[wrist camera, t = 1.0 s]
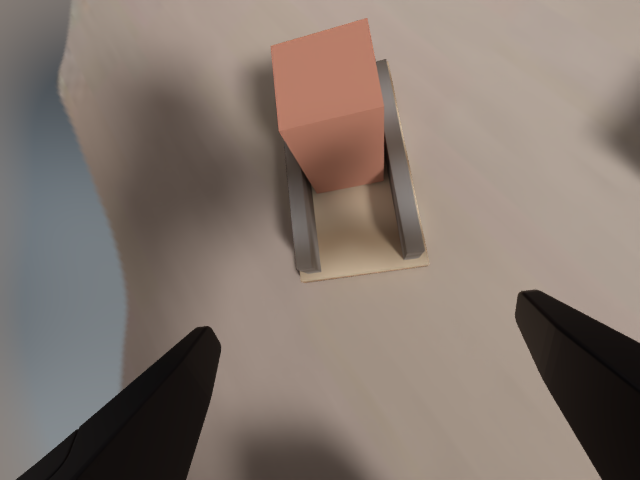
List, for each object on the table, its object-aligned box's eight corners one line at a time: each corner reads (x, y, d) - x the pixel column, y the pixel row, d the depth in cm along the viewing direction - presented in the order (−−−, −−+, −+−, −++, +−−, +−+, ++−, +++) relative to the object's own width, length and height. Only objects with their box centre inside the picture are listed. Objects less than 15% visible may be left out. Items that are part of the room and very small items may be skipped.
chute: (427, 266, 21) (437, 257, 17) (304, 282, 22) (287, 278, 18) (387, 72, 25) (388, 27, 21) (285, 98, 26) (268, 61, 22)
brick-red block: (383, 181, 21) (384, 106, 13) (316, 193, 22) (278, 131, 14) (372, 120, 22) (367, 18, 14) (309, 135, 23) (270, 45, 15)
